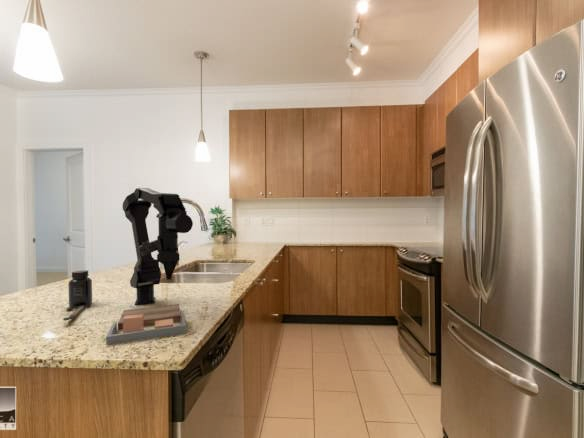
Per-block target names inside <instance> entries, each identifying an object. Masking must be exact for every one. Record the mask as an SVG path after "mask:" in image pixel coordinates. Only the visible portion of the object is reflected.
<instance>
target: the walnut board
mask: <svg viewBox="0 0 584 438" xmlns="http://www.w3.org/2000/svg"><path fill="white" fill-rule="evenodd" d="M180 309H181V308H180V303H176V304H168V305H167V304H166V305H160V306H159V305H157V306H150V307H149V306H148V307H142V308H139V307H138V308H134V309H133V308H132V309H123V310H122V311H123V312H122V313H121V316H120V318H119V320H118V322H117V331H120V330H123V318H124V317H125V316H128V315H138V314H144V327H150V326H155V321H159V320H167V319H173V324H174V323H181V311H180Z"/></svg>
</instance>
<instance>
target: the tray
mask: <svg viewBox="0 0 584 438" xmlns="http://www.w3.org/2000/svg"><path fill="white" fill-rule="evenodd" d="M180 323H181V324H179V325H173V326H171V327H164V328H157V329H155V328H152V329H151V328H150V329H145V330H143V331H136V332H129V333H123V332H122V333H117V331H118V322H116V321H115V322H113V323H112V324H111V326H110V328H109V330H108V332H107V334H106V336H105V344H106V346H107V345H108V346H110V345H116V344H122V343H123V344H124V343H128V342H133V341H134V342H135V341H142V340H150V339H156V338H162V337H169V336H177V335H183V334H186V333H187V324H186V318H185V313H180Z"/></svg>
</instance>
